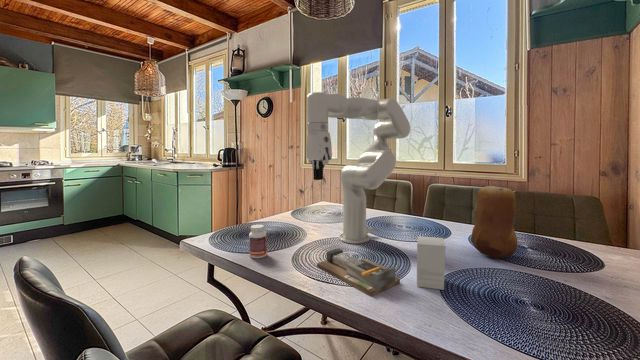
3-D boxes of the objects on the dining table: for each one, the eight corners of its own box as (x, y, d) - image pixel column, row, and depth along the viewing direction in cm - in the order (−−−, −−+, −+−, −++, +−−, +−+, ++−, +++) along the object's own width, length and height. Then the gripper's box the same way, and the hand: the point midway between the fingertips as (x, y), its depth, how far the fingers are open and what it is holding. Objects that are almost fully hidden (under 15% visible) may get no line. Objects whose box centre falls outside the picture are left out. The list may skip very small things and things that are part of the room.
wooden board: (344, 258, 105) (344, 243, 104) (399, 283, 86) (400, 265, 85) (317, 266, 98) (316, 251, 97) (370, 296, 78) (370, 277, 78)
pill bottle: (269, 256, 107) (268, 226, 106) (253, 260, 103) (252, 229, 102) (263, 251, 112) (262, 222, 111) (247, 254, 109) (245, 225, 107)
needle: (379, 277, 86) (379, 265, 86) (384, 279, 85) (384, 267, 84) (359, 285, 82) (359, 272, 81) (364, 287, 80) (365, 274, 80)
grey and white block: (338, 256, 102) (338, 248, 101) (366, 269, 91) (366, 260, 91) (326, 260, 99) (326, 251, 98) (353, 274, 88) (353, 264, 88)
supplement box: (442, 279, 88) (444, 237, 86) (444, 290, 81) (446, 246, 80) (416, 275, 90) (417, 235, 89) (415, 286, 83) (417, 243, 82)
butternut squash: (512, 252, 108) (517, 184, 105) (519, 266, 96) (525, 190, 93) (469, 247, 114) (473, 182, 111) (471, 260, 102) (475, 187, 99)
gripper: (339, 127, 102) (339, 180, 105) (314, 129, 114) (314, 177, 116) (322, 127, 98) (322, 182, 100) (297, 129, 110) (298, 178, 112)
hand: (318, 179), depth 108 cm, fingers closed
